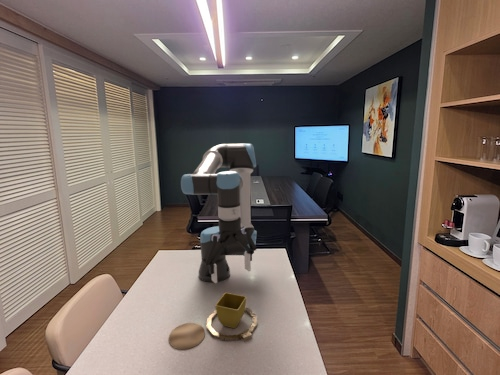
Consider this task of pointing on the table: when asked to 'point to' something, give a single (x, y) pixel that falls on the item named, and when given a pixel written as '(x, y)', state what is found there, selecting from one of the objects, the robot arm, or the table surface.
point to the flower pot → (230, 309)
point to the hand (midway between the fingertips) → (231, 275)
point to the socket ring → (244, 335)
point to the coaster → (186, 336)
